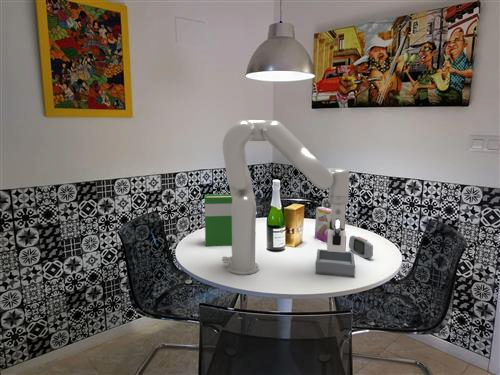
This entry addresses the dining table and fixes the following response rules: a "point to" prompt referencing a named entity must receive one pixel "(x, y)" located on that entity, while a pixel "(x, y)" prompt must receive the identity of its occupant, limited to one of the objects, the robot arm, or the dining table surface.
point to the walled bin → (335, 263)
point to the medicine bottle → (330, 238)
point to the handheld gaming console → (361, 247)
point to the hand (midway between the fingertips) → (336, 241)
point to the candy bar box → (322, 223)
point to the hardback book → (218, 220)
